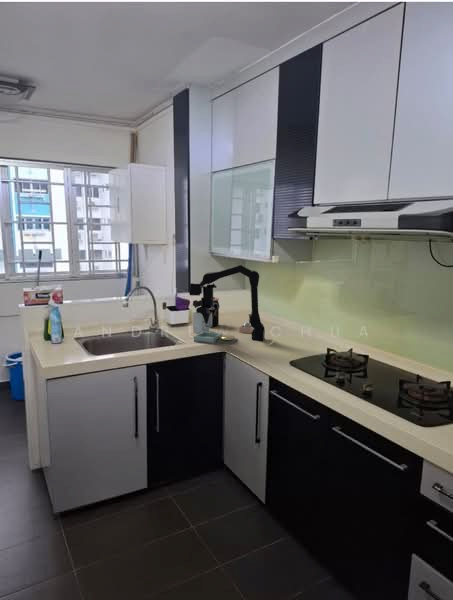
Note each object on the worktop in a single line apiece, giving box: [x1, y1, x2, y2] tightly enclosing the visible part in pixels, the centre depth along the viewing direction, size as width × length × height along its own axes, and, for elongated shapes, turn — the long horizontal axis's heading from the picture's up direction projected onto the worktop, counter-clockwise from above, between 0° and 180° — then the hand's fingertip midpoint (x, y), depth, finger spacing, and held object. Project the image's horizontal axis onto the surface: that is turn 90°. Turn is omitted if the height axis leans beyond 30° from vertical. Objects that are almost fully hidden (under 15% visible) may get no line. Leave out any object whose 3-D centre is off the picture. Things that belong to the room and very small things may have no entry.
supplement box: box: [192, 311, 210, 334], centre depth 243 cm, size 7×7×13 cm
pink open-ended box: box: [238, 323, 254, 335], centre depth 243 cm, size 7×7×4 cm
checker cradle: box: [216, 337, 238, 345], centre depth 224 cm, size 9×9×2 cm
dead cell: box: [243, 321, 251, 328], centre depth 243 cm, size 4×4×6 cm
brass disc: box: [220, 334, 236, 340], centre depth 224 cm, size 8×8×1 cm
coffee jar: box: [211, 296, 220, 328], centre depth 260 cm, size 11×11×18 cm
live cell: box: [204, 311, 213, 328], centre depth 224 cm, size 4×4×9 cm
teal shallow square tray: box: [193, 331, 223, 345], centre depth 226 cm, size 12×12×3 cm
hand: (208, 322), depth 225 cm, fingers closed on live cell, 4 cm apart
